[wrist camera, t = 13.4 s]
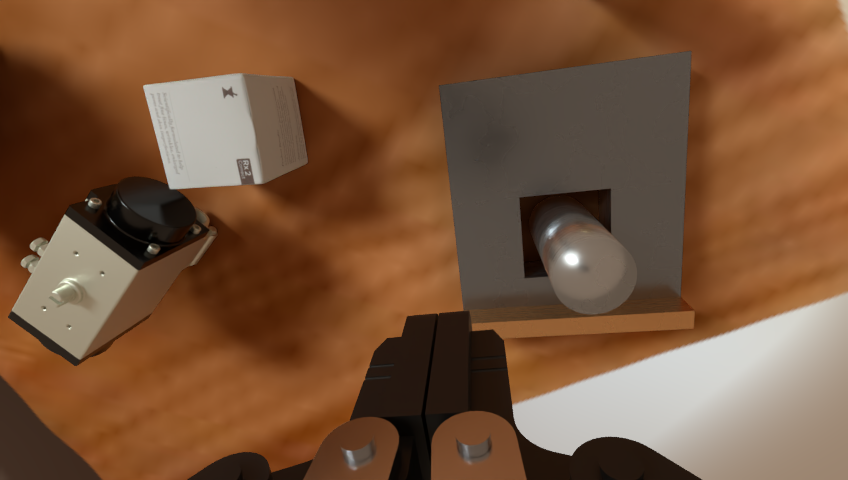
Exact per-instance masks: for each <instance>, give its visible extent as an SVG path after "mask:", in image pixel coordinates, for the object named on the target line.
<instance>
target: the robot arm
mask: <svg viewBox="0 0 848 480" xmlns="http://www.w3.org/2000/svg"><path fill="white" fill-rule="evenodd" d="M188 480H701V479H700V478H698V477H697V476H695V475H694V474H692V473H690V472H689V471H687V470H685V469H684V468H682V467H680V466H679V465H677V464H675V463H674V462H672V461H670V460H669V459H667V458H666V457H664V456H662V455H661V454H659V453H657V452H656V451H654V450H652V449H650V448H648V447H647V446H645V445H643V444H641V443H638V442H636V441H633V440H629V439H626V438H619V437H601V438H596V439H592V440H590V441H587V442H585V443H584V444H582V445H581V446H580V447H578V448H577V449H576V451H575V452H574V453H573V455H572V456H570V455H565V454H561V453H556V452H552V451H549V450H546V449H543V448H540V447H538V446H536V445H535V444H533V443H531V442H530V441H529V440H527V439H526V438H525V437H524V436H523V435H522V434H521V433H520V432H519V430H518V429H517V427H516V424H515V421H514V417H513V409H512V401H511V393H510V385H509V377H508V370H507V362H506V354H505V346H504V340H503V339H502V338H501V337H500V336H499V335H498V334H497V333H496V332H495V331H494V330H493V329H491V330H479V331H472V323H471V316H470V311H458V312H447V313H439V316H438V314H425V315H414V316H407V319H406V322H405V326H404V329H403V333H402V337H395V338H387V339H386V340H385V341H384V342H383V343H382V344H381V345H380V346H379V347H378V348H377V349H376V350H375V351H374V354H373V357H372V360H371V363H370V368H368V371H367V374H366V376H365V380H364V382H363V385H362V388H361V390H360V393H359V396H358V399H357V402H356V404H355V407H354V410H353V413H352V415H351V418H350V421H348V422H346V423H344V424H342V425H340V426H338V427H337V428H336V429H334V430H333V431H332V432H331V433H330V434H329V435H328V436H327V437H326V438H325V439H324V440H323V442H322V444H321V445H320V447H319V449H318V451H317V453H316V455H315V457H314V459H312V460H310V461H307V462H305V463H302V464H298V465H295V466H292V467H289V468H285V469H282V470H279V471H276V472H272V473H271V470H270V467H269V464H268V462H267V460H266V459H265V458H264V457H263V456H261V455H259V454H257V453H252V452H243V453H237V454H233V455H229V456H227V457H224V458H222V459H220V460H218V461H216V462H214V463H212V464H211V465H209V466H207V467H206V468H204V469H203V470H201V471H200V472H198V473H197V474H195V475H194V476H192V477H191V478H189V479H188Z"/></svg>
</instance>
